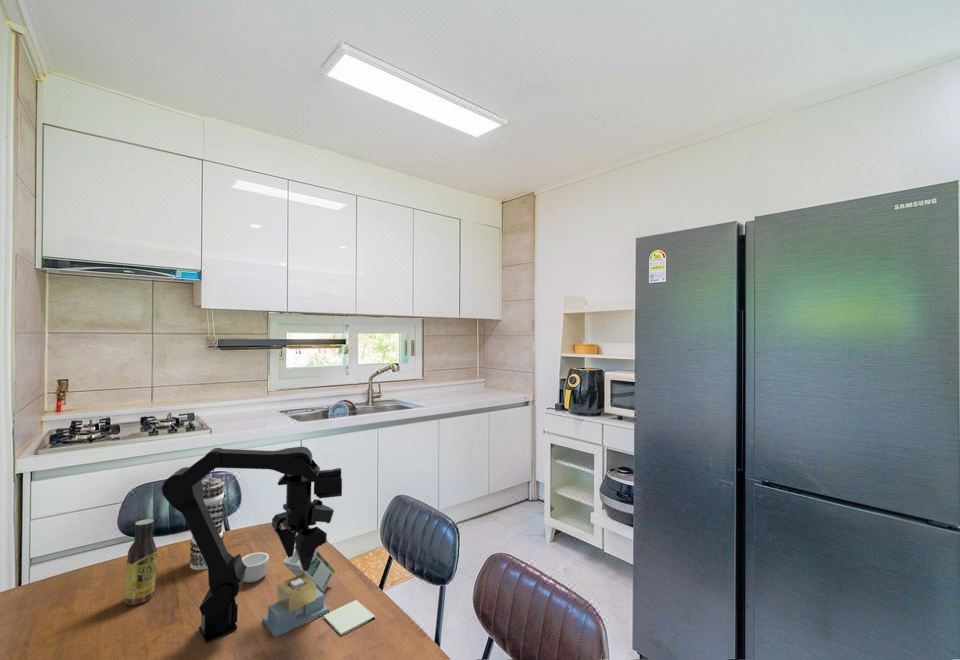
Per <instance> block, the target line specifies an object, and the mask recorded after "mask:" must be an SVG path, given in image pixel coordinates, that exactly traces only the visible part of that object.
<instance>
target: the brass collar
mask: <svg viewBox="0 0 960 660" xmlns="http://www.w3.org/2000/svg"><path fill="white" fill-rule="evenodd" d="M299 578H301V579H302V580H303V581H304V585H303V586H301V587H299V588H296V589H294V590H292V589H291V588H290V582H291V581H294V580H296V579H299ZM276 600H277V602H279V603H280V604H281V605H282V606H283V607H284V608H285V609H286V610H287V611H288V612H291V611H293V610H295V609H297V608H300V607H302V606H304V605H306V604H308V603H311V602H313V601H315V600H316V583H315V582H313V581H312V580H311V579H310V578H309V577H307V576H306V575H305V574H301V575H299V576H294V577H291V578H289V579H287V580H284V581H282V582H280V583H277V595H276Z"/></svg>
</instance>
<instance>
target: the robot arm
mask: <svg viewBox="0 0 960 660" xmlns="http://www.w3.org/2000/svg"><path fill="white" fill-rule="evenodd" d="M215 469H240V470H241V469H244V470H246V469H249V470H250V469H251V470H270V471H274V472H278V473H281V474H283V475H282V476H281V477H280V478H278V479H279V480H278V482H277V485H278V486H284V485H285V486H286V497H285V498H286V500H285V501H286V503H283V504H282V509H283V510H284V511H283V512H280V513H276V514H275V515H274V516H273V517H272V518H271V526H272V528H273V530H274V532H275V534H276V535H277V538H278V539H279V541H280V544H281V546H282V547H283V548H282V549H283V550H284V551H285V552H284V553H285V554H286V557H287V556H288V557H292V556H293V552H294V545H295V544H296V546H295V549H296V552H297V555H298V558H299V560H300V563H301V566H302V569H303V571H307V570H308V569H309V567H310V564H311V561H312V558H313V555H314V552H315V550H317V549H318V548H319V547H321V546H322V545H324V544H326V543H327V540H328V539H327V538H328V536H327V535H328V533H327V532H325V531H324V530H322V529H321V528H320V527H318V526H315V525H317V523H326V524H330V523H331V521H332V518H333V516H334V513H335V512H334V511H335V510H334V509H333V508H331V507H330V506H328V505H325V504H323V501H322V500H321V499H328V498H338V497H342V496H343V478H342V468H341V467H338V468H333V469H323V470H320V469H321V467H320V466H319V465H318V464H317V463H316V462H315V460H314V459H313V454H312V451H311V450H310V449H309V448H308V447H306V446H295V447H285V448H283V449H278V450H261V449H260V450H259V449H258V450H256V449H235V448H233V449H232V448H231V449H230V448H222V447H215V448H212V449H211V450H210V451H209V452H208V453H206V454H205V455H204V456H203V457H201V458H200V459H199V460H197V461H196V462H195V463H193V464H192V465H191V466H186V467H182V468H180V469H178V470H176V471H175V472H174V473H173V474H171V475H170V476H169V477H168V478H167V479H166V480H165V481H164V482H163V484H162V486H161V495H162V496H163V497H164V498H165V500H166V501H167V502H168V503H169V505H170V506H171V507H172V508H174V509H175V510H176V511H178V512H179V513H180V514H182V517H183V518H184V521H185V523H186V524H187V527H188V529H189V531H190V533H191V536H192V535H193V537H194V539H195V542H196V544H197V546H198V548H199V550H200V552H201V554H202V556H203V558H204V560H205V563H206V565H207V567H208V569H207V573H208V587H209V589H208V591H206V594H205V596H204V598H203V600H202V602H201V604H200V605H199V608H198V609H199V611H200V613H201V615H200V616H201V618H200V619H201V621H200V623H201V624H200V626H199V627H198V631H199V633H200V635H201V637H202V638H203V641H204V642H205V643H208V642H211V641H213V640H215V639H217V638H221V637H222V636H225V635H228V634H230V633H233V632H234V631H236V630H237V629H238V625H237V622H238V611H239V609H238V606H239V605H238V604H237V602H236V597H237V596H238V594H239V592H240V591H241V590H240V589H241V588H242V585H243V583H244V581H243V580H244V578H245V570H246V568H247V566H246V565H244V563H243V562H242V558H243V557H242V555H241V553H239V554H237V555H235V556H233V555H232V554H231V553H229V552H228V550H227V548H226V545H225V543H224V540H222V539H221V537H220V535H219V533H218V530H217V528H216V526H215V524H214V522H213V520H212V518H211V516H210V513H209V511H208V509H207V507H206V505H205V503H204V499H203V485H202V479H205V478H206V476H207V475H209V474H210V473H211V472H212V471H214V470H215ZM312 483H313V495H315V496H316V497H315V499H313V501H312ZM310 526H311V528H310ZM312 526H315V527H312Z"/></svg>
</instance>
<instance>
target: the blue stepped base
mask: <svg viewBox="0 0 960 660" xmlns="http://www.w3.org/2000/svg"><path fill="white" fill-rule="evenodd" d="M303 585H304V581H303V580H302V579H301V578H299V579H296V580H294V581H291V582H290V588H291V589H292V590H294V589H296V588H299V587H301V586H303ZM267 609H268V610H267V615H264V616H262V622H263V623H264V625H265V627H267V629H268V631H270V633H271V634H272V635H273V637H274V638H278V637H280V636H282V635H284V634H286V633H288V632H290V631H289V630H291V631H293V630H294V629H293V628H295V629H296V627H297V626H299V627H301V626H303V625H305V624H307V623H306V622H308V623H309V621H310V620H312V619H314V620H315V618H316V617H318V616H320V615H322V616H323V614H325V613H327V612H330V607H329V606H328V605H326V604H325V593H324V592H323V591H319V590H318V589H317V588H316V600H315V601H313V602H311V603H308V604H306V605H304V606H302V607H300V608H297V609H295V610H293V611H291V612H288V611H287V610H286V609H285V608H284V607H283V606H282V605H281V604H280V603H279V602H278V601H277V602H275V603H271V604H270V605H268V607H267ZM320 617H321V616H320ZM318 618H319V617H318ZM316 619H317V618H316ZM312 621H313V620H312ZM310 622H311V621H310ZM304 623H305V624H304ZM302 624H303V625H302ZM300 625H301V626H300ZM297 628H298V627H297ZM292 629H293V630H292ZM287 631H288V632H287ZM283 633H284V634H283Z"/></svg>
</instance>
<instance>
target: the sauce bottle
mask: <svg viewBox="0 0 960 660" xmlns="http://www.w3.org/2000/svg"><path fill="white" fill-rule="evenodd" d="M154 526H155V520H154V519H152V518H147V519H141V520H138V521H137V522H135V523H134V530H135V531H134V540H133V543H132V544H131V546H130V547H129V550H127V551H128V552H127V561H126V567H125V568H126V569H125V582H124V595H123V596H124V604H125V605H127V606H137V605H140V604H143V603H146V602H148V601H149V600H150V599H151V598H153V597H154V595H155V591H156V590H155V589H156V577H157V576H156V575H157V561H158V550H157V549H158V548H157V545H156V542H155V540H154V534H153V533H154Z"/></svg>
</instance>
